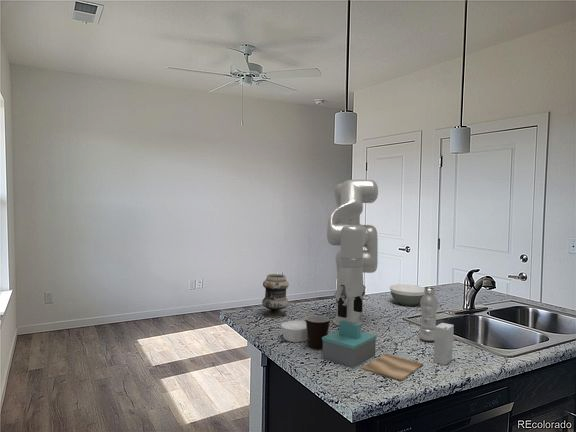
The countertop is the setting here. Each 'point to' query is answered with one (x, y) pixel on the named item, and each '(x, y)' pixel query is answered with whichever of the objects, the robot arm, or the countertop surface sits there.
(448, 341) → the skincare box
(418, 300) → the bowl
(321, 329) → the coffee mug
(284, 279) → the apothecary jar
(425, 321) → the plastic bottle
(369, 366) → the wooden board
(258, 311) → the countertop surface
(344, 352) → the tub
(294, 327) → the ramekin
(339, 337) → the lid
